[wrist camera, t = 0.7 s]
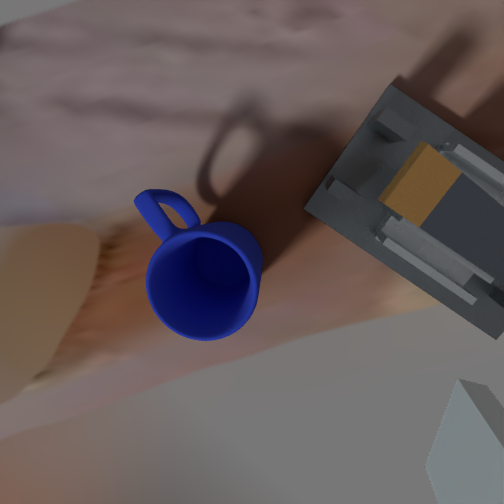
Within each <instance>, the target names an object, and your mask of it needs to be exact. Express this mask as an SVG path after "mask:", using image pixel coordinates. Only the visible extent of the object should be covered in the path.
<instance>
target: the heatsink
mask: <svg viewBox="0 0 504 504" xmlns="http://www.w3.org/2000/svg"><path fill="white" fill-rule="evenodd" d="M420 141H423V142H425V143H427V144H429V145H430V146H431V147H433V148H434V149H435V150H436V151H437V152H439V153H440V154H441V155H442V156H443V157H445V158H446V159H447V160H448V161H449V162H451V163H452V164H453V165H454V166H455V167H457V168H458V169H459V170H460V171H461V172H463V173H464V174H465V175H466V176H467V177H469V178H470V179H471V180H472V181H473V182H475V183H476V184H477V185H478V186H479V187H481V188H482V189H483V190H484V191H485V192H487V193H488V194H489V195H490V196H491V197H493V198H494V199H495V200H496V201H497V202H499V203H500V204H501V205H502V206H503V207H504V161H502V160H501V159H499V158H498V157H496V156H495V155H493V154H492V153H490V152H489V151H488V150H486V149H485V148H483V147H482V146H480V145H479V144H477V143H476V142H474V141H473V140H471V139H470V138H469V137H467V136H466V135H464V134H463V133H461V132H460V131H458V130H457V129H455V128H454V127H452V126H451V125H450V124H448V123H447V122H445V121H444V120H442V119H441V118H439V117H438V116H436V115H435V114H433V113H432V112H431V111H429V110H428V109H426V108H425V107H423V106H422V105H420V104H419V103H417V102H416V101H414V100H413V99H412V98H410V97H409V96H407V95H406V94H404V93H403V92H401V91H400V90H398V89H397V88H395V87H394V86H392V85H391V84H390V85H389V86H388V87H387V89H386V90H385V91H384V93H383V94H382V96H381V97H380V99H379V100H378V101H377V103H376V104H375V106H374V107H373V109H372V110H371V112H370V113H369V114H368V116H367V117H366V119H365V120H364V122H363V123H362V124H361V126H360V127H359V129H358V130H357V132H356V133H355V135H354V136H353V137H352V139H351V140H350V142H349V143H348V145H347V146H346V147H345V149H344V150H343V152H342V153H341V155H340V156H339V157H338V159H337V160H336V162H335V163H334V165H333V166H332V168H331V169H330V170H329V172H328V173H327V175H326V176H325V178H324V179H323V180H322V182H321V183H320V185H319V186H318V188H317V189H316V191H315V192H314V193H313V195H312V196H311V198H310V199H309V201H308V202H307V203H306V205H305V206H304V209H305V210H306V211H307V212H309V213H310V214H312V215H313V216H315V217H316V218H318V219H319V220H321V221H322V222H324V223H325V224H327V225H328V226H330V227H331V228H332V229H334V230H335V231H337V232H338V233H340V234H341V235H343V236H344V237H346V238H347V239H349V240H350V241H352V242H353V243H354V244H356V245H357V246H359V247H360V248H362V249H363V250H365V251H366V252H368V253H369V254H371V255H372V256H374V257H375V258H376V259H378V260H379V261H381V262H382V263H384V264H385V265H387V266H388V267H390V268H391V269H393V270H394V271H396V272H397V273H398V274H400V275H401V276H403V277H404V278H406V279H407V280H409V281H410V282H412V283H413V284H415V285H416V286H418V287H419V288H421V289H422V290H423V291H425V292H426V293H428V294H429V295H431V296H432V297H434V298H435V299H437V300H438V301H440V302H441V303H443V304H444V305H446V306H447V307H448V308H450V309H451V310H453V311H454V312H456V313H457V314H459V315H460V316H462V317H463V318H465V319H466V320H467V321H469V322H471V323H472V324H473V325H475V326H476V327H478V328H479V329H481V330H482V331H484V332H485V333H487V334H488V335H490V336H491V337H492V338H494V339H495V340H496V339H497V338H498V337H499V336H500V335H501V334H502V333H503V332H504V285H503V284H502V283H500V282H499V281H497V280H496V279H494V278H493V277H491V276H490V275H488V274H487V273H486V272H484V271H483V270H481V269H480V268H478V267H477V266H475V265H474V264H472V263H471V262H469V261H468V260H466V259H465V258H463V257H462V256H460V255H459V254H457V253H456V252H454V251H453V250H451V249H450V248H449V247H447V246H446V245H444V244H443V243H441V242H440V241H438V240H437V239H435V238H434V237H432V236H431V235H429V234H428V233H426V232H425V231H423V230H422V229H420V228H419V227H417V226H416V225H415V224H413V223H412V222H410V221H409V220H407V219H406V218H404V217H403V216H401V215H400V214H398V213H397V212H395V211H394V210H392V209H391V208H389V207H388V206H386V205H385V204H383V203H382V202H381V201H379V200H378V198H379V197H380V196H381V194H382V193H383V191H384V190H385V189H386V187H387V186H388V185H389V183H390V182H391V181H392V179H393V178H394V177H395V175H396V174H397V173H398V171H399V170H400V168H401V167H402V166H403V164H404V163H405V162H406V160H407V159H408V158H409V156H410V155H411V154H412V152H413V151H414V150H415V148H416V147H417V145H418V144H419V143H420Z"/></svg>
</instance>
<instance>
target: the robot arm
mask: <svg viewBox="0 0 504 504" xmlns="http://www.w3.org/2000/svg"><path fill="white" fill-rule="evenodd" d="M425 469H426V471H427V474H428V477H429V479H430V482H431V485H432V487H433V490H434V493H435V495H436V498H437V501H438V503H439V504H504V408H503V406H502V405H501V404H500V402H499V401H498V400H497V398H496V397H495V396H494V395H493V393H492V392H491V391H490V389H489V388H488V387H487V386H486V385H481V384H477V383H474V382H470V381H466V380H461V379H457V381H456V384H455V387H454V389H453V392H452V395H451V397H450V400H449V403H448V405H447V408H446V411H445V414H444V416H443V419H442V422H441V424H440V427H439V430H438V432H437V435H436V438H435V441H434V443H433V446H432V449H431V451H430V454H429V457H428V459H427V462H426V465H425Z"/></svg>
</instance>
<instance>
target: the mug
mask: <svg viewBox="0 0 504 504" xmlns="http://www.w3.org/2000/svg"><path fill="white" fill-rule="evenodd" d="M134 203H135V205H136V207H137V209H138V210H139V212H140V213H141V215H142V216H143V217H144V219H145V220H146V222H147V223H148V224H149V226H150V227H151V228H152V230H153V231H154V232H155V233H156V234H157V235H158V236H159V238H160V239H161V240H162V241H163V243H162V244H161V245H160V247H159V248H158V249H157V250H156V252H155V253H154V255H153V256H152V258H151V260H150V263H149V266H148V269H147V275H146V289H147V295H148V298H149V302H150V304H151V306H152V308H153V310H154V312H155V313H156V315H157V316H158V317H159V319H160V320H161V321H162V322H163V323H164V324H165V325H166V326H167V327H168V328H170V329H171V330H172V331H174V332H176V333H177V334H179V335H181V336H184V337H187V338H190V339H194V340H201V341H210V340H217V339H221V338H224V337H227V336H229V335H231V334H233V333H234V332H236V331H237V330H239V329H240V328H241V327H242V326H243V325H244V324H245V323H246V322H247V321H248V320H249V318H250V317H251V315H252V313H253V311H254V309H255V307H256V304H257V300H258V295H259V288H260V281H261V274H262V266H263V257H262V252H261V248H260V246H259V244H258V242H257V240H256V239H255V237H254V236H253V235H252V234H251V233H250V232H249V231H248V230H246V229H245V228H243V227H242V226H240V225H238V224H235V223H231V222H214V223H208V224H203V225H200V223H201V221H200V218H199V217H198V215H197V213H196V212H195V210H194V209H193V207H192V206H191V205H190V204H189V202H188V201H187V200H186V199H185V198H183V197H182V196H181V195H179V194H177V193H175V192H173V191H169V190H162V189H149V190H145V191H143V192H141V193H140V194H139V195H138V196H136V198H135V200H134ZM158 203H164V204H167V205H169V206H170V207H172V208H173V209H175V210H176V211H177V212H178V213H179V215H180V216H181V217H182V218H183V220H184V221H185V223H186V224H187V226H188V228H187V229H180V228H178V227H176V226H175V225H174V224H173V223H172V222H171V220H170V219H169V218H168V217H167V215H166V214H165V212H164V211H163V209H162V208H161V207H160V205H159V204H158Z"/></svg>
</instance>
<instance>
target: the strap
mask: <svg viewBox="0 0 504 504" xmlns="http://www.w3.org/2000/svg"><path fill="white" fill-rule="evenodd" d="M378 200H379V201H381V202H382V203H383V204H385V205H386V206H388V207H389V208H391V209H392V210H394V211H395V212H397V213H398V214H400V215H401V216H403V217H404V218H406V219H407V220H409V221H410V222H412V223H413V224H415V225H416V226H417V227H419V228H420V229H422V230H423V231H425V232H426V233H428V234H429V235H431V236H432V237H434V238H435V239H437V240H438V241H440V242H441V243H443V244H444V245H446V246H447V247H449V248H450V249H451V250H453V251H454V252H456V253H457V254H459V255H460V256H462V257H463V258H465V259H466V260H468V261H469V262H471V263H472V264H474V265H475V266H477V267H478V268H480V269H481V270H483V271H484V272H486V273H487V274H488V275H490V276H491V277H493V278H494V279H496V280H497V281H499V282H500V283H502V284H503V285H504V207H503V206H502V205H501V204H500V203H499V202H497V201H496V200H495V199H494V198H493V197H491V196H490V195H489V194H488V193H487V192H485V191H484V190H483V189H482V188H481V187H479V186H478V185H477V184H476V183H475V182H473V181H472V180H471V179H470V178H469V177H467V176H466V175H465V174H464V173H463V172H461V171H460V170H459V169H458V168H457V167H455V166H454V165H453V164H452V163H451V162H449V161H448V160H447V159H446V158H445V157H443V156H442V155H441V154H440V153H439V152H437V151H436V150H435V149H434V148H433V147H431V146H430V145H429V144H427V143H425V142H423V141H420V143H419V144H418V145H417V147H416V148H415V150H414V151H413V152H412V154H411V155H410V156H409V158H408V159H407V160H406V162H405V163H404V164H403V166H402V167H401V168H400V170H399V171H398V173H397V174H396V175H395V177H394V178H393V179H392V181H391V182H390V183H389V185H388V186H387V187H386V189H385V190H384V191H383V193H382V194H381V196H380V197H379V198H378Z"/></svg>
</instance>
